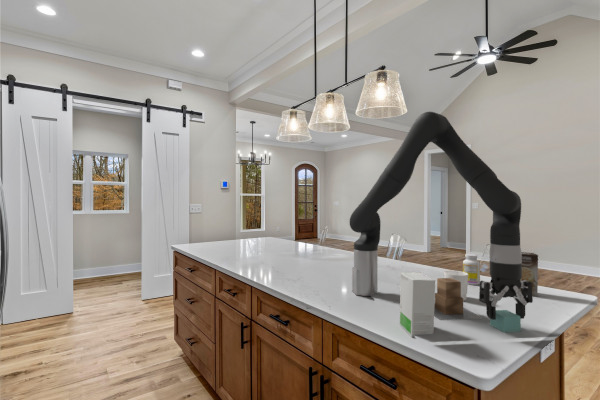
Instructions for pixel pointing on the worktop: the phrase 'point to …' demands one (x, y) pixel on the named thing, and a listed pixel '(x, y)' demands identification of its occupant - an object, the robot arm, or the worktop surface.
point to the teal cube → (506, 321)
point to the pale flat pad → (456, 315)
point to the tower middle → (449, 288)
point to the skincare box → (417, 303)
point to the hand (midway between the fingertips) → (506, 318)
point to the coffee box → (530, 270)
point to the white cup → (459, 277)
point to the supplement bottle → (472, 269)
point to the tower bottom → (448, 305)
